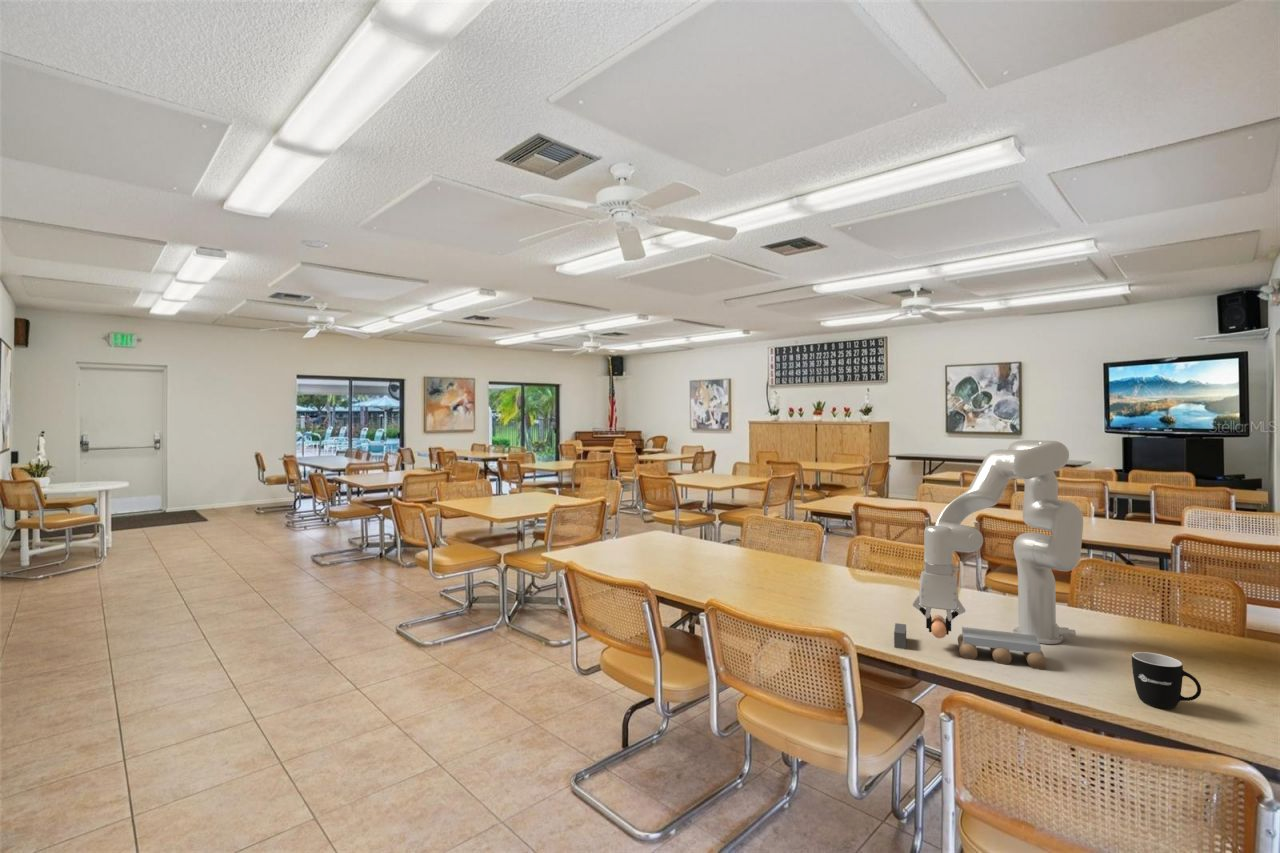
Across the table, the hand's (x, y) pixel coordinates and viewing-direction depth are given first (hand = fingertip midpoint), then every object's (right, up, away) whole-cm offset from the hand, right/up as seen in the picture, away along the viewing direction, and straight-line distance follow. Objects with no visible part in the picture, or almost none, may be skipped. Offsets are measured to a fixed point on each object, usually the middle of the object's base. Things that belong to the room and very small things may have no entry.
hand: (938, 631), depth 172 cm
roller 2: (+7, -3, -3) cm, 8 cm away
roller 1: (0, 0, 0) cm, 0 cm away
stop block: (-9, -6, +5) cm, 12 cm away
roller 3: (+21, -3, -10) cm, 24 cm away
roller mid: (+14, -3, -6) cm, 16 cm away
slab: (+14, -1, -6) cm, 15 cm away
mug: (+35, -5, -35) cm, 50 cm away
